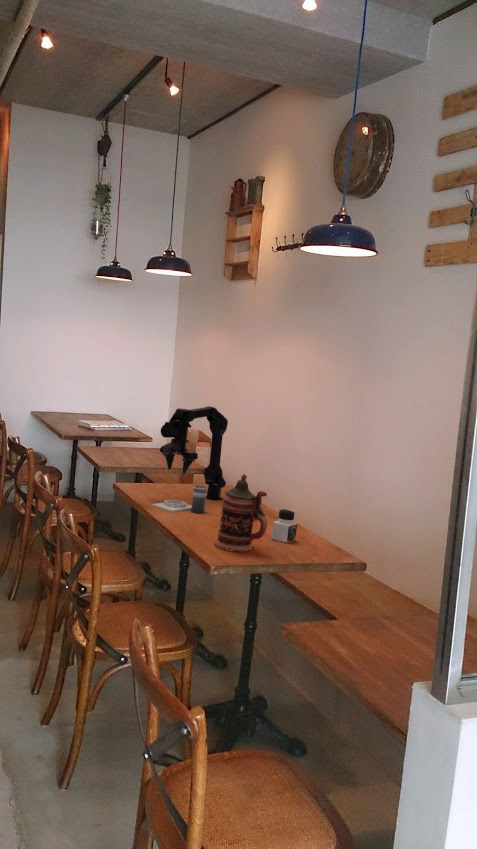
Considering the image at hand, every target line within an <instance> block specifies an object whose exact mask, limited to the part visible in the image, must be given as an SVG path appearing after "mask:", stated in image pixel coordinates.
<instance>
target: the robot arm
mask: <svg viewBox="0 0 477 849" xmlns="http://www.w3.org/2000/svg"><path fill="white" fill-rule="evenodd" d="M205 417H206V420H207V421H208V423H209V430H210V432H211V443H210V453H209V454H210V455H209V464H208V465H207V467H204V470H203V471H204V472H203V477H204V482H205V485H207V486H208V487H207V491H206V493H207V494H206V499H210V500H214V501H215V500H217V501H218V500H222V499H223V497H221V495H222V488H225V487H226V484H227V482H226V481H225V479H224V477H223V470H222V466H221V457H222V456H221V455H222V446H223V445H222V444H223V437H224V436H223V435H224V434H225V433H226V432H227V428H228V425H229V422H228V419H227V417H225V416H224V415H223V414H222V413H221V412H220V411H219V410H218V409H217V408H216V407H214V406H211V405H210V406H209V405H208V406H205V407H198V408H193V409H189V408H188V409H187V408H176V409H175V411H174V412H173V415H172V416H171V418H170V419H169V420H168V421H164V424H163V425H162V426H161V427H160V435H161V436H162V438H171V440H170V442H168V443H166V444H164V445H161V446H160V448H159V452H160V453H161V455H163V457H164V458H165V461H166V465H167V469H168V471H169V470H171V468H172V467H173V463H174V459H175V455H179V456H182V458H181V461H182V463H183V464H182V474H186V472H187V471H188V470H189V467H190V466H191V465H192V463H193V462H194V461H196V460H198V458H199V457H198V456H199V454H198V453H197V452H194V451H188V449H187V443H189V439H188V433H189V432H188V431H189V428H192V425H191V424H190V423H191V422H194V420H195V419H201V418H205ZM223 500H224V499H223Z"/></svg>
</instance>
